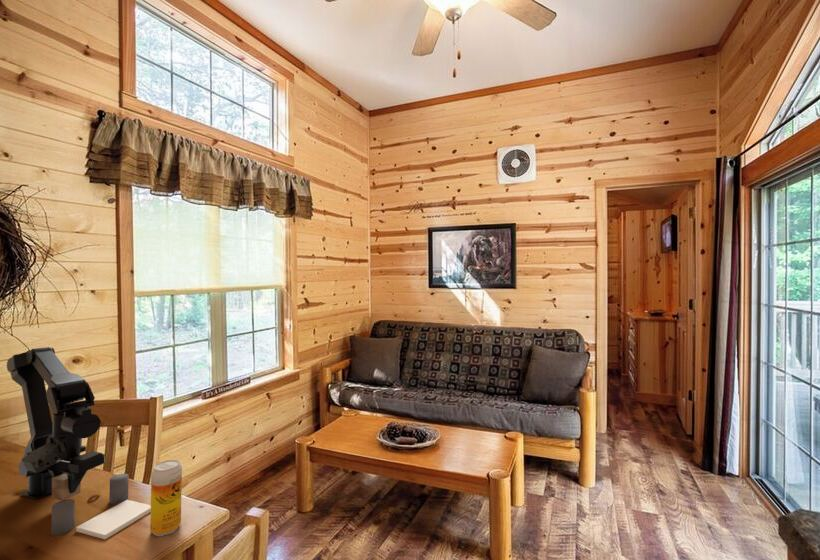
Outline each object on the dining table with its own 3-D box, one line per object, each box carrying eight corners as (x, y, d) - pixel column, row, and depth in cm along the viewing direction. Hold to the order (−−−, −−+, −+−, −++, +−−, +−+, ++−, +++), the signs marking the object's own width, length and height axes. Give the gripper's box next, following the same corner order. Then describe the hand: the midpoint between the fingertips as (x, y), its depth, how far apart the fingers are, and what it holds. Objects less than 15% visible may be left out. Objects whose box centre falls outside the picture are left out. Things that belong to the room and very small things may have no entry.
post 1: (46, 533, 90) (47, 507, 90) (66, 523, 94) (67, 497, 94) (59, 536, 89) (59, 510, 89) (78, 526, 93) (79, 500, 93)
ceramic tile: (76, 531, 91) (76, 527, 91) (127, 503, 102) (127, 499, 102) (105, 539, 88) (105, 535, 88) (153, 509, 100) (153, 505, 100)
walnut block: (51, 498, 99) (51, 478, 99) (69, 490, 103) (69, 470, 103) (62, 500, 98) (63, 480, 98) (80, 492, 102) (80, 473, 102)
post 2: (105, 502, 102) (105, 479, 102) (120, 495, 106) (121, 472, 106) (116, 505, 101) (117, 482, 101) (131, 497, 105) (132, 475, 105)
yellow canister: (166, 539, 89) (167, 472, 89) (143, 535, 90) (144, 469, 90) (186, 523, 95) (188, 460, 95) (165, 519, 96) (166, 457, 96)
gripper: (2, 436, 95) (1, 501, 95) (57, 447, 90) (55, 516, 90) (55, 421, 106) (54, 479, 106) (107, 429, 101) (105, 491, 100)
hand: (66, 491), depth 100 cm, fingers closed on walnut block, 4 cm apart
